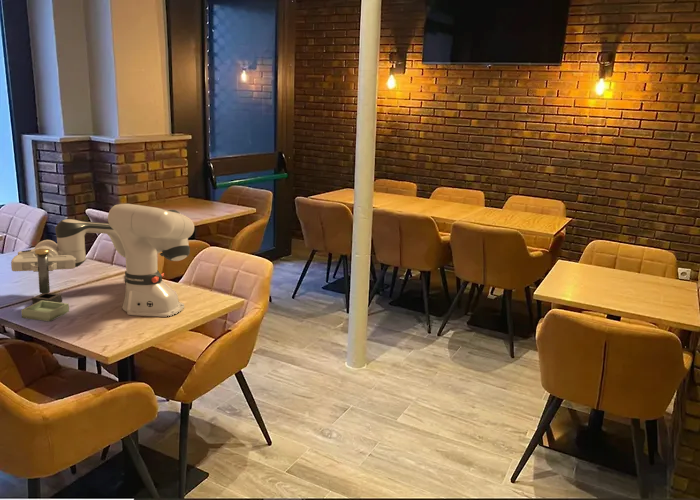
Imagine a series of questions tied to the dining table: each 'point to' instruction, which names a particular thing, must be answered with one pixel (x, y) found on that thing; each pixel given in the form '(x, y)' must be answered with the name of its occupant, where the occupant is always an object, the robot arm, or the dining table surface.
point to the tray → (45, 310)
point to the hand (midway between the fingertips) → (43, 269)
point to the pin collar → (47, 297)
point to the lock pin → (43, 270)
